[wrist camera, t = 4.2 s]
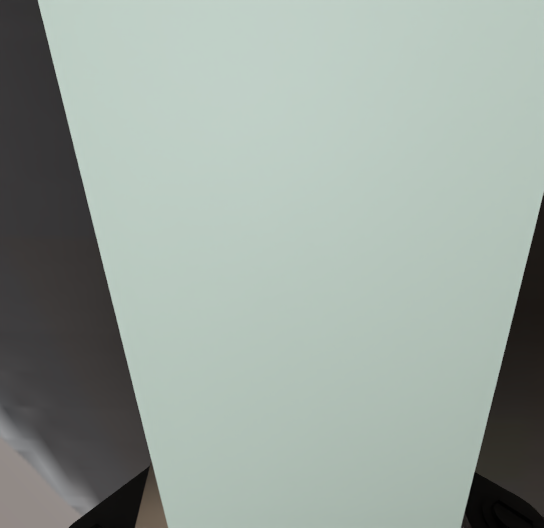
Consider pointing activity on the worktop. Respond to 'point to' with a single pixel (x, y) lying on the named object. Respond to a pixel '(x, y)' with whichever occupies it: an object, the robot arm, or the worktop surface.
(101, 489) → the worktop surface
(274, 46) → the door
